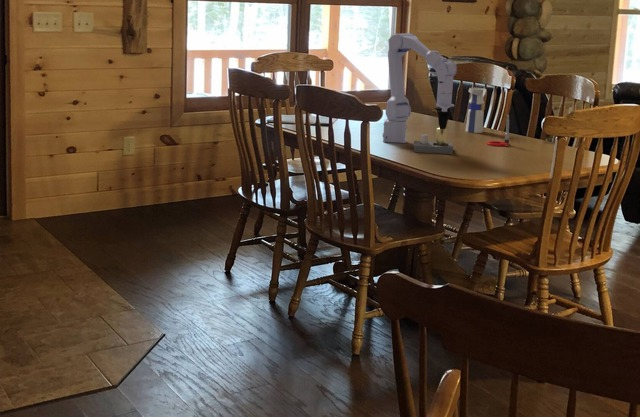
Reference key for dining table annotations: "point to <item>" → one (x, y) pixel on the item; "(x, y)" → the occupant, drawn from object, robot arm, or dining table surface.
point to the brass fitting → (441, 137)
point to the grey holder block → (431, 146)
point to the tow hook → (505, 137)
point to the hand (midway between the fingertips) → (442, 127)
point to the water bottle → (476, 109)
